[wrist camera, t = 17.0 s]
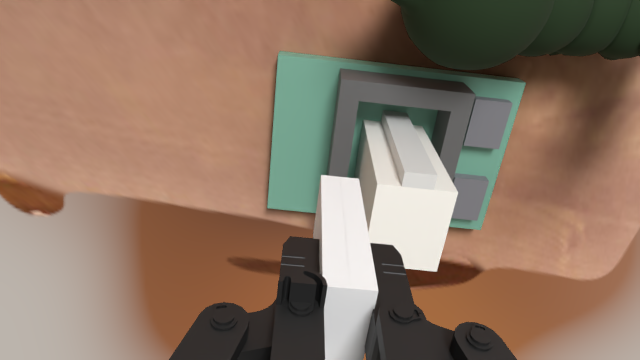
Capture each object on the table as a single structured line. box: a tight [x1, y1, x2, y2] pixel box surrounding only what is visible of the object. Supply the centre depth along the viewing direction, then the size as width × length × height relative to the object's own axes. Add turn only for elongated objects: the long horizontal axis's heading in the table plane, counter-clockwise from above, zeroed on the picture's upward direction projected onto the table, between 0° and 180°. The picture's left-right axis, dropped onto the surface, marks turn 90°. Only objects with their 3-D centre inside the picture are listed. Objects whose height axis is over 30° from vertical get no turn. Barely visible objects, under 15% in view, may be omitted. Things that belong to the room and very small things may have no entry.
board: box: [267, 51, 526, 230], centre depth 39 cm, size 20×14×5 cm
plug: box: [354, 110, 458, 272], centre depth 35 cm, size 5×7×12 cm
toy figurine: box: [391, 0, 640, 70], centre depth 28 cm, size 9×19×25 cm
